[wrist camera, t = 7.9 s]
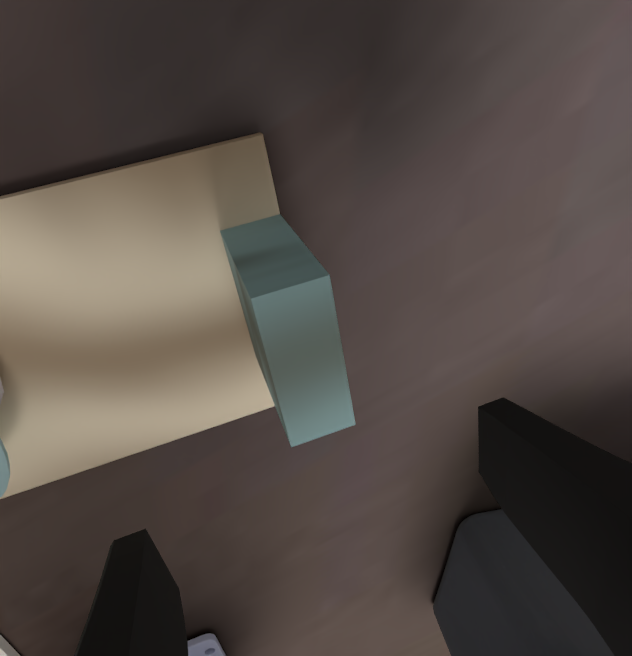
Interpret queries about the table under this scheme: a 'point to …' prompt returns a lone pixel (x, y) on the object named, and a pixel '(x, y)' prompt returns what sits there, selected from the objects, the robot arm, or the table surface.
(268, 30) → the table surface
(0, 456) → the pacifier
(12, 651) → the broken strip
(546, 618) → the storage bin
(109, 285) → the wooden board
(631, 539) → the robot arm
